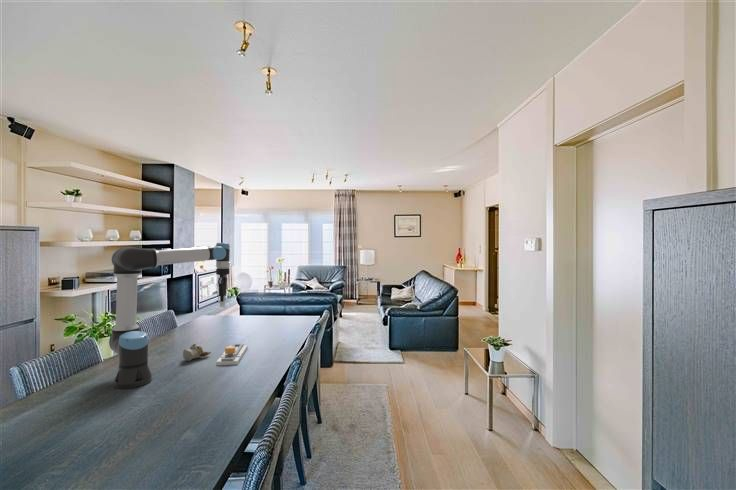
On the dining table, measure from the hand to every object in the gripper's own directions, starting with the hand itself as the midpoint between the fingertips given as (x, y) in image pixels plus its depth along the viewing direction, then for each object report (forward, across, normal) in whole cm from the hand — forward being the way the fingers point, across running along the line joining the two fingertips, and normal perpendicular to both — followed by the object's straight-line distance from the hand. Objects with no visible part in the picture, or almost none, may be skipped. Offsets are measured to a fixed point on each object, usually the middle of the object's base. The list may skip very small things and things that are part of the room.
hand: (222, 306), depth 214 cm
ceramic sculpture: (+29, -8, +13) cm, 33 cm away
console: (+28, -7, -8) cm, 30 cm away
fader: (+26, -14, -8) cm, 31 cm away
